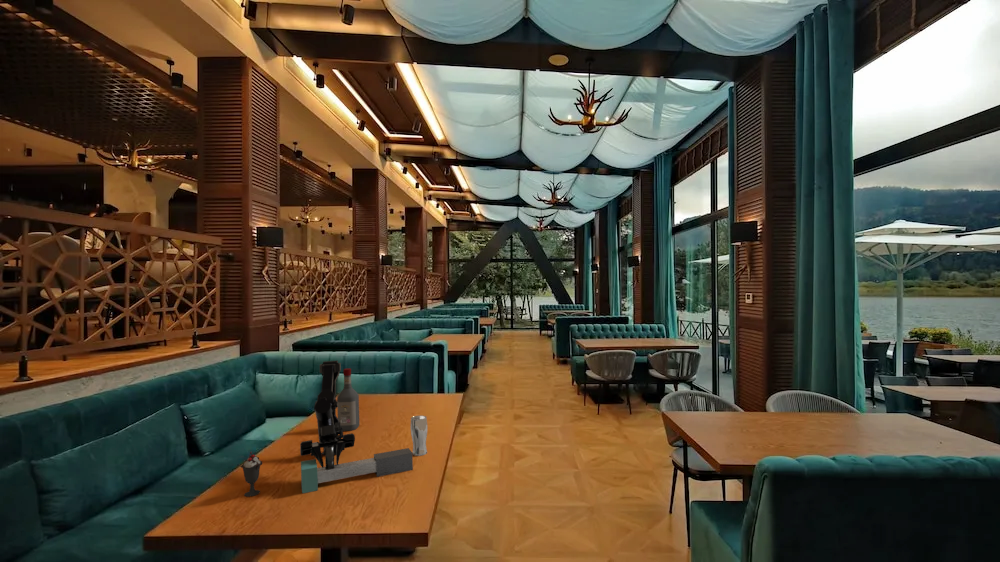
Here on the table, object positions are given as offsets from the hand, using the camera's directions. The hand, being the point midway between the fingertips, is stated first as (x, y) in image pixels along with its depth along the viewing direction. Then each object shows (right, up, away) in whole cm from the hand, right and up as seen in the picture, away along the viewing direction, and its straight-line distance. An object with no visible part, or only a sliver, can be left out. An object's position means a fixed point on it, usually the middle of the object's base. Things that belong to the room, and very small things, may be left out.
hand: (330, 465), depth 166 cm
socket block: (-7, -7, -2) cm, 10 cm away
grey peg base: (+4, -5, +3) cm, 7 cm away
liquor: (-16, -9, +68) cm, 70 cm away
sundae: (-25, -8, -6) cm, 27 cm away
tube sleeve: (+20, -6, +11) cm, 24 cm away
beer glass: (+27, -6, +28) cm, 40 cm away
